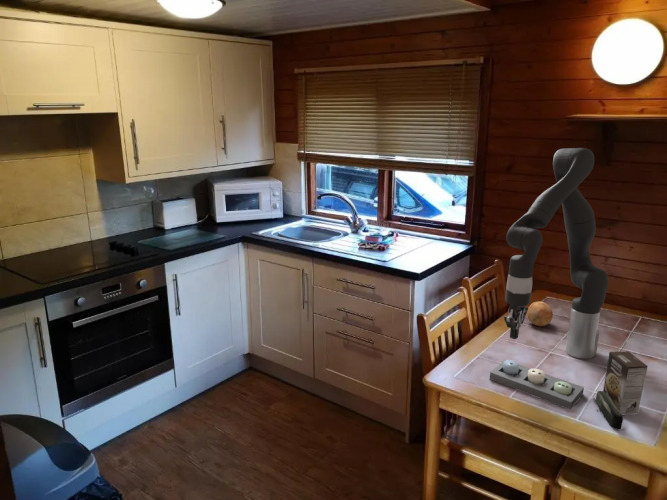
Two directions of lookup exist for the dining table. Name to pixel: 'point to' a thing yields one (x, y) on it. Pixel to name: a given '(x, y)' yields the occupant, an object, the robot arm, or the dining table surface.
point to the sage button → (563, 388)
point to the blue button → (511, 367)
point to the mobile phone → (608, 410)
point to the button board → (539, 391)
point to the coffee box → (625, 381)
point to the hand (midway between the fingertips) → (513, 337)
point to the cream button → (536, 376)
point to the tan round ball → (539, 313)
